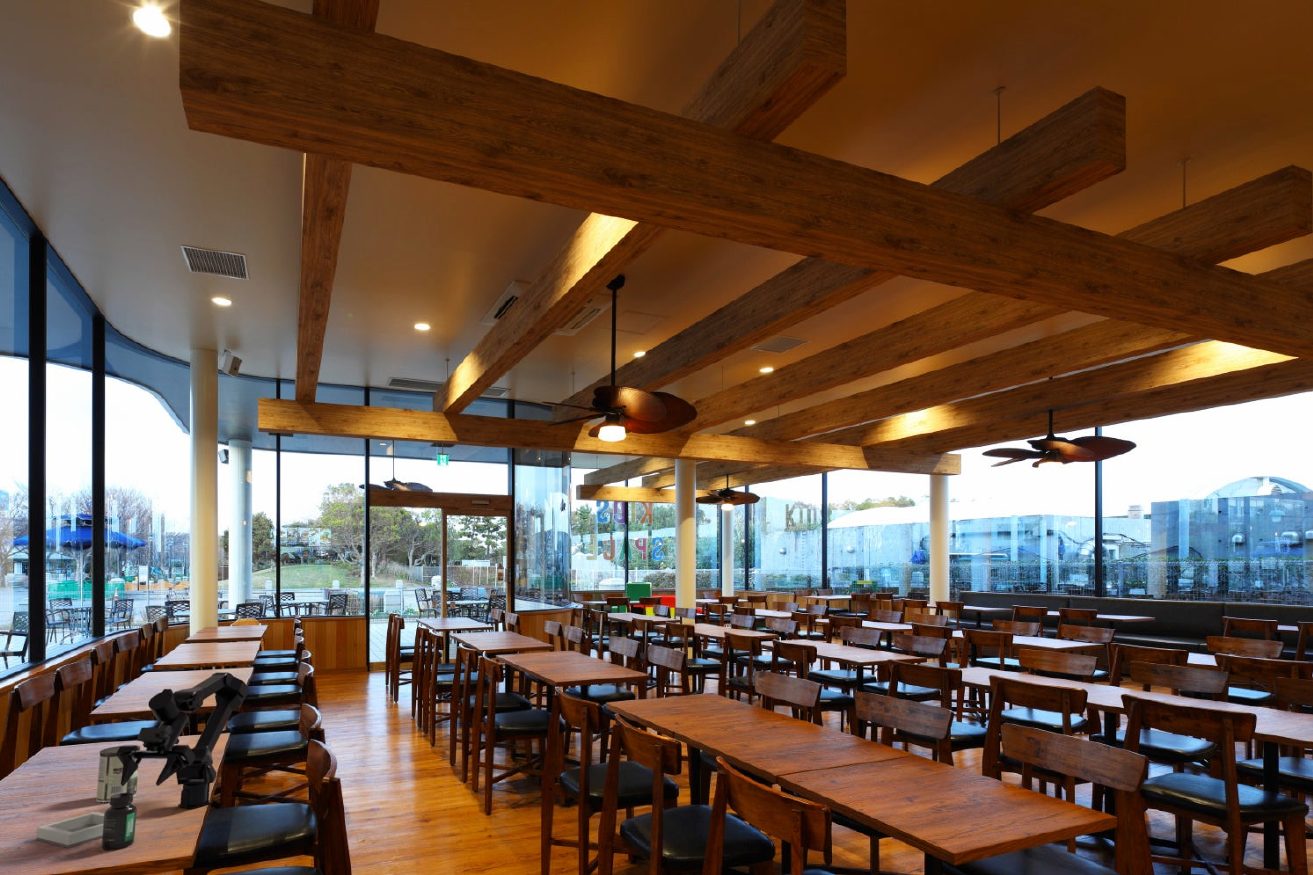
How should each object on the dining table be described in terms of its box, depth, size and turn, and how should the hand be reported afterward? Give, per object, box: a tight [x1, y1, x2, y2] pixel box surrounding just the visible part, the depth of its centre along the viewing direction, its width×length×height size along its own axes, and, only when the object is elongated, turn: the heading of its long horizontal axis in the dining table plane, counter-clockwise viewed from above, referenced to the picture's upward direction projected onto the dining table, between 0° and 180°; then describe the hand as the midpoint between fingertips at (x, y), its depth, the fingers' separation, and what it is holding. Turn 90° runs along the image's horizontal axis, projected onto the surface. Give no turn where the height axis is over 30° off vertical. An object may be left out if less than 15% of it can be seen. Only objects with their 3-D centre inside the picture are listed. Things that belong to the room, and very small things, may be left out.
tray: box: [35, 811, 105, 848], centre depth 210 cm, size 14×14×3 cm
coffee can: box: [95, 744, 141, 804], centre depth 243 cm, size 10×10×14 cm
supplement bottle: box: [101, 793, 138, 851], centre depth 202 cm, size 7×7×12 cm
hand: (139, 784), depth 210 cm, fingers open, 9 cm apart
